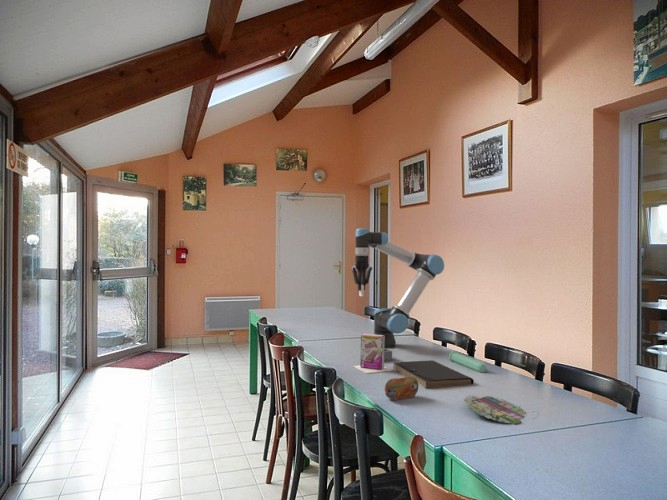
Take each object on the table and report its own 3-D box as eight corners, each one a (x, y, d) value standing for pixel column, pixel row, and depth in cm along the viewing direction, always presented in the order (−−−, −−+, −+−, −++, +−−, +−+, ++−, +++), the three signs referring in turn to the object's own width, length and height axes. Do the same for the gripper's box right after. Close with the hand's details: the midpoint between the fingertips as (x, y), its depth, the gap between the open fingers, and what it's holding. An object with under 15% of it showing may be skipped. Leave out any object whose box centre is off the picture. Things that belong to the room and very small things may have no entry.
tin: (387, 402, 178) (388, 380, 178) (383, 399, 181) (383, 378, 181) (418, 396, 185) (419, 376, 185) (414, 394, 188) (414, 374, 188)
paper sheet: (377, 364, 237) (377, 363, 237) (391, 370, 224) (391, 370, 224) (353, 366, 232) (353, 365, 232) (366, 373, 219) (366, 372, 219)
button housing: (382, 356, 254) (382, 347, 254) (392, 360, 245) (392, 351, 245) (366, 357, 250) (366, 348, 250) (375, 362, 241) (375, 352, 241)
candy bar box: (360, 367, 228) (360, 334, 227) (362, 365, 232) (363, 333, 232) (382, 370, 224) (382, 336, 224) (384, 367, 228) (384, 334, 228)
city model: (523, 438, 151) (526, 420, 151) (453, 415, 163) (455, 398, 163) (534, 416, 172) (536, 400, 172) (471, 397, 184) (473, 382, 184)
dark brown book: (392, 361, 228) (435, 359, 235) (392, 370, 228) (435, 367, 235) (425, 380, 196) (473, 376, 204) (425, 389, 196) (473, 386, 204)
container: (486, 360, 223) (456, 348, 247) (477, 365, 221) (447, 353, 245) (490, 371, 224) (459, 358, 247) (480, 376, 222) (450, 363, 246)
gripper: (354, 255, 257) (354, 297, 257) (375, 255, 263) (374, 296, 263) (348, 255, 264) (348, 295, 264) (368, 255, 269) (368, 295, 269)
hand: (361, 296), depth 263 cm, fingers closed
